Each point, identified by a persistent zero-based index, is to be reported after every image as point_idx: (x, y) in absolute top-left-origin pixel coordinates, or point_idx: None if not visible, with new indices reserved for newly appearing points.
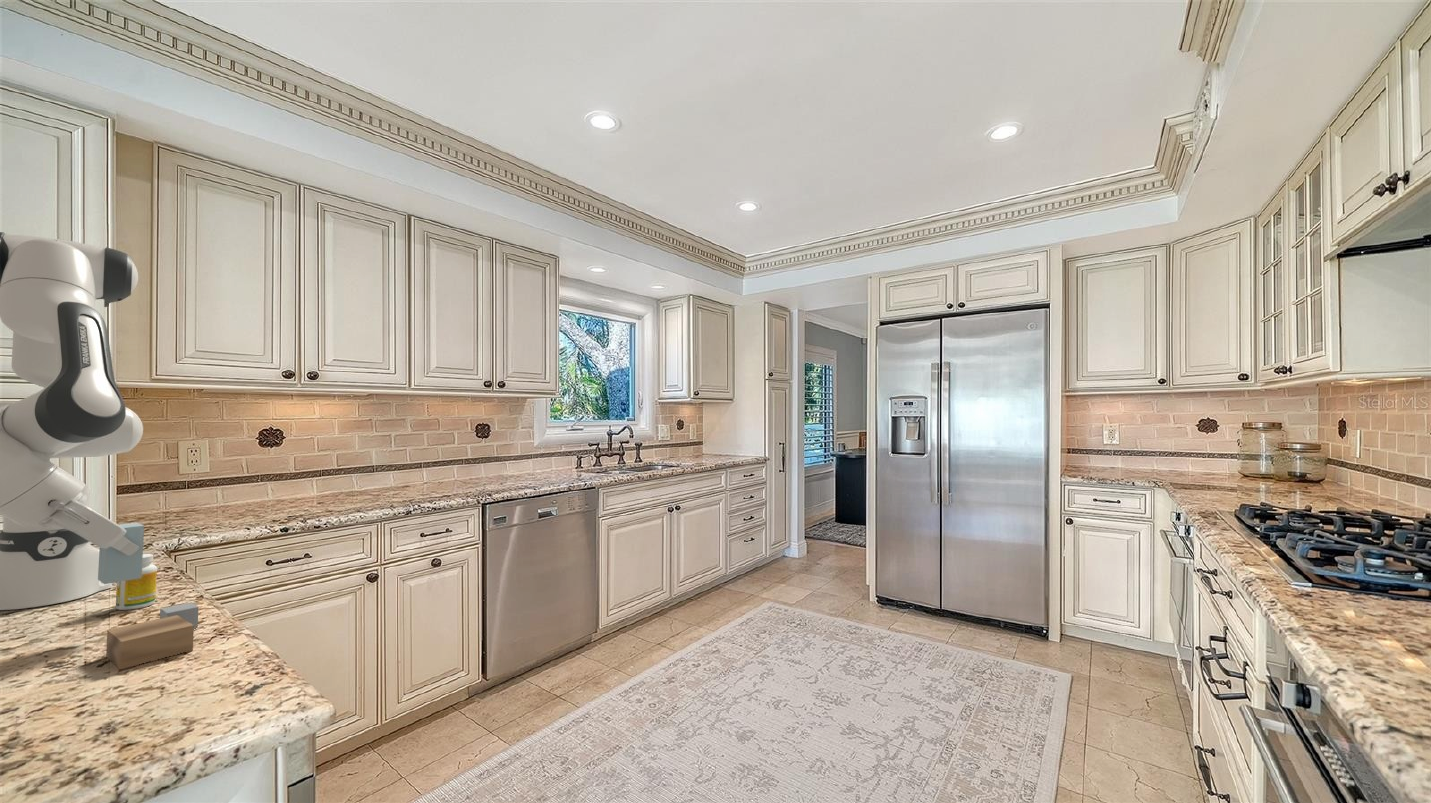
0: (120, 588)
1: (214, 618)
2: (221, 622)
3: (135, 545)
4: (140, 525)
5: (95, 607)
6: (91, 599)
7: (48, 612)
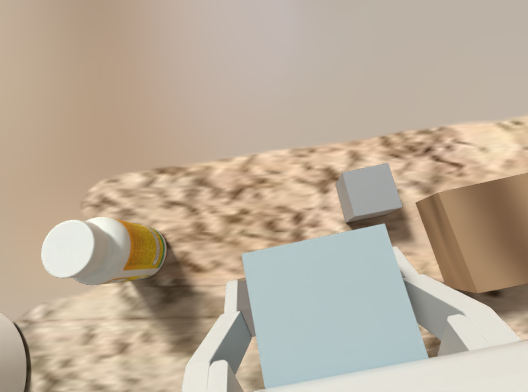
0: (131, 276)
1: (322, 155)
2: (355, 147)
3: (404, 256)
4: (365, 238)
5: (101, 306)
6: (35, 312)
7: (75, 371)
